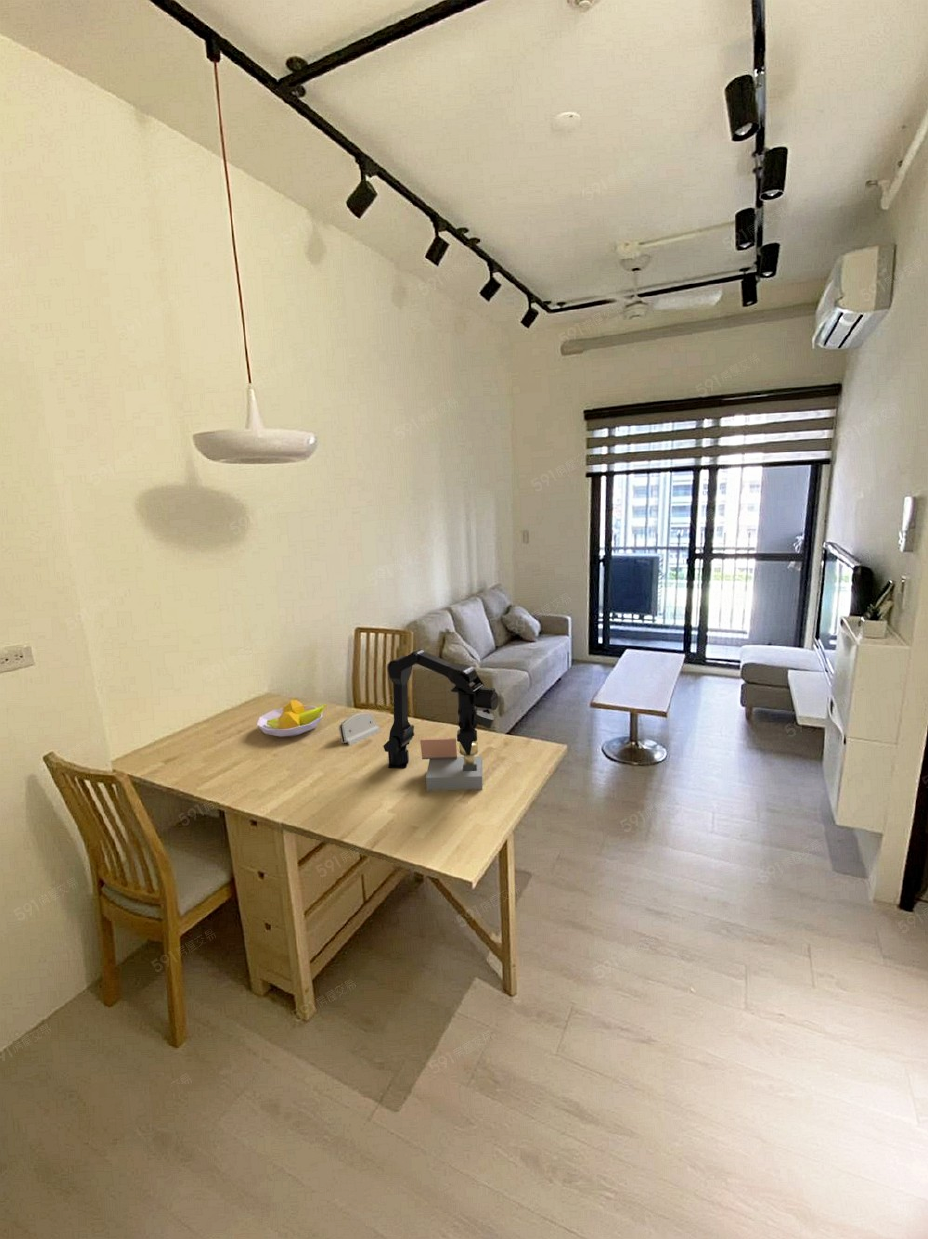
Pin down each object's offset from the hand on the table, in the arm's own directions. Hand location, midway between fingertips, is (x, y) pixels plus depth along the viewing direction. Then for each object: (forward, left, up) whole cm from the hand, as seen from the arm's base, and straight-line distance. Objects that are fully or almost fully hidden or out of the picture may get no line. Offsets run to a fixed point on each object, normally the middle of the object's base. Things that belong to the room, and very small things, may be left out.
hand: (468, 750), depth 181 cm
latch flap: (-10, +7, -6) cm, 14 cm away
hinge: (-45, +38, -11) cm, 60 cm away
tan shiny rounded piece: (0, 0, -5) cm, 5 cm away
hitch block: (-5, +1, -11) cm, 12 cm away
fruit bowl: (-75, +46, -11) cm, 89 cm away
